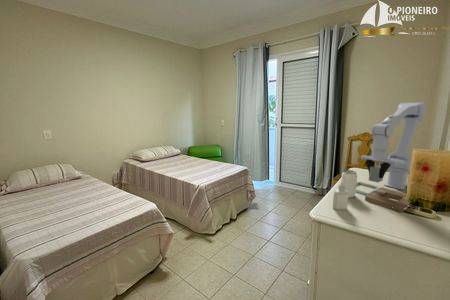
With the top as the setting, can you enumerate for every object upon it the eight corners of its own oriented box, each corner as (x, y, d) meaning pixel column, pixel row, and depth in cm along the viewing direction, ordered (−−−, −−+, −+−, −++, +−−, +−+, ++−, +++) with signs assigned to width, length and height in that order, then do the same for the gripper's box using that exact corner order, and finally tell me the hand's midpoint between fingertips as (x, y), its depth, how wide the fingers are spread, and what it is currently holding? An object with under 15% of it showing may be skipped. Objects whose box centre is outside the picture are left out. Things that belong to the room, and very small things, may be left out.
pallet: (381, 190, 106) (382, 187, 105) (417, 200, 94) (418, 196, 94) (364, 200, 96) (365, 196, 96) (402, 212, 85) (403, 207, 84)
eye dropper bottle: (348, 211, 86) (351, 184, 84) (333, 209, 88) (335, 183, 86) (346, 206, 90) (349, 180, 88) (331, 205, 92) (334, 179, 90)
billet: (373, 178, 104) (375, 164, 103) (382, 180, 101) (384, 166, 100) (368, 180, 102) (370, 166, 100) (377, 182, 98) (379, 168, 97)
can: (357, 198, 98) (360, 174, 96) (342, 197, 99) (344, 173, 97) (351, 192, 104) (354, 170, 102) (337, 192, 106) (340, 169, 103)
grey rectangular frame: (358, 183, 116) (358, 181, 116) (380, 189, 108) (381, 187, 107) (345, 188, 109) (345, 186, 109) (368, 195, 100) (368, 193, 100)
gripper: (359, 147, 102) (356, 174, 105) (394, 153, 90) (390, 182, 93) (366, 146, 106) (363, 171, 109) (401, 150, 94) (396, 179, 97)
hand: (376, 176), depth 101 cm, fingers closed on billet, 4 cm apart
